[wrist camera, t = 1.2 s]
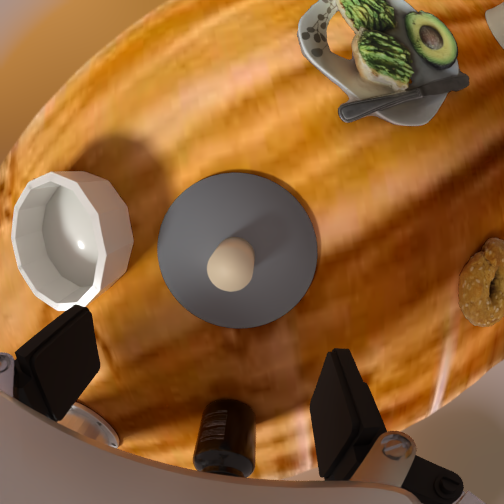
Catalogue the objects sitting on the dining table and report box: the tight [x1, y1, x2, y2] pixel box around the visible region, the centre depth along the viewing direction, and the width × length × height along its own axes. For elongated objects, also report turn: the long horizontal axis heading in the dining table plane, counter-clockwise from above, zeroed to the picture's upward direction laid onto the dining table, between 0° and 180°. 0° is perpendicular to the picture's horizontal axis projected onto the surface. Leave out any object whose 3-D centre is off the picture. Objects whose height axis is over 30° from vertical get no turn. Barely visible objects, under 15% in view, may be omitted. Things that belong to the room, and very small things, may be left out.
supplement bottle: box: [193, 400, 256, 478], centre depth 25 cm, size 7×7×12 cm
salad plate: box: [297, 0, 469, 126], centre depth 18 cm, size 19×18×5 cm
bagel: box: [458, 238, 504, 327], centre depth 24 cm, size 10×11×5 cm
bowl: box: [11, 171, 134, 311], centre depth 23 cm, size 13×13×6 cm
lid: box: [157, 173, 317, 328], centre depth 24 cm, size 15×15×5 cm
